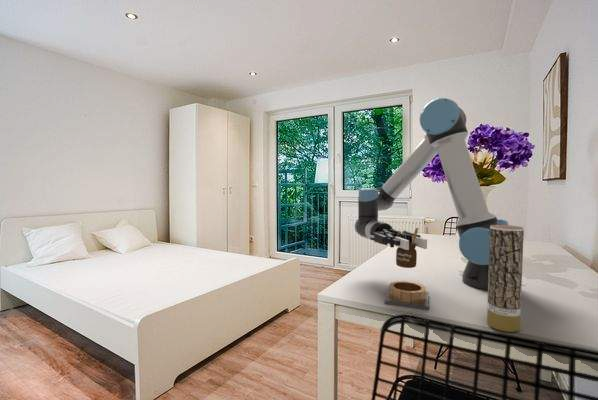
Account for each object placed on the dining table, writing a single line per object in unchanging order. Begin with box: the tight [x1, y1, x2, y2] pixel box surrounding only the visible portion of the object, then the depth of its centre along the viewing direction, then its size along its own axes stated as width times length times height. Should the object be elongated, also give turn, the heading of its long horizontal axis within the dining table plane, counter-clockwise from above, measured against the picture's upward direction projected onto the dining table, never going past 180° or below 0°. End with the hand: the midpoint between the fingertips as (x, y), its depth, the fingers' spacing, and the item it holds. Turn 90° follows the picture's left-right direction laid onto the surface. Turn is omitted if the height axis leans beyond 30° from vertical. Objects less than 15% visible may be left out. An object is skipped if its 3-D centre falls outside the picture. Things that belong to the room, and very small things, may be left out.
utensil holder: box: [395, 227, 419, 269], centre depth 94 cm, size 6×6×12 cm
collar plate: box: [383, 280, 429, 311], centre depth 94 cm, size 12×12×4 cm
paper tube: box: [486, 224, 525, 333], centre depth 75 cm, size 7×7×25 cm
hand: (416, 244), depth 88 cm, fingers closed on utensil holder, 5 cm apart
